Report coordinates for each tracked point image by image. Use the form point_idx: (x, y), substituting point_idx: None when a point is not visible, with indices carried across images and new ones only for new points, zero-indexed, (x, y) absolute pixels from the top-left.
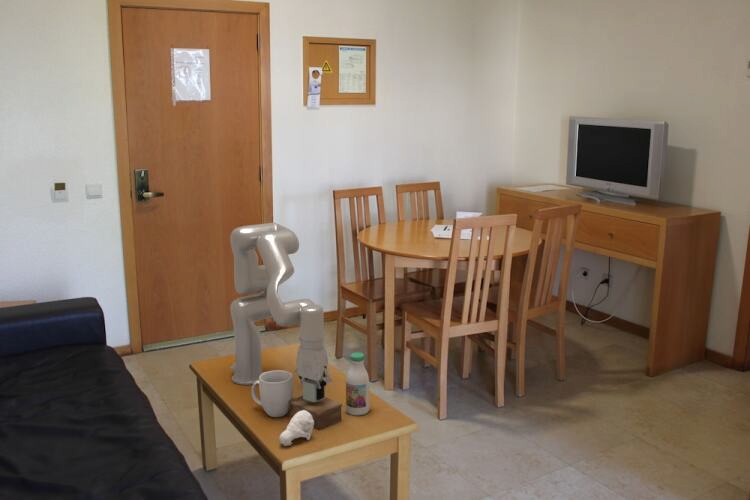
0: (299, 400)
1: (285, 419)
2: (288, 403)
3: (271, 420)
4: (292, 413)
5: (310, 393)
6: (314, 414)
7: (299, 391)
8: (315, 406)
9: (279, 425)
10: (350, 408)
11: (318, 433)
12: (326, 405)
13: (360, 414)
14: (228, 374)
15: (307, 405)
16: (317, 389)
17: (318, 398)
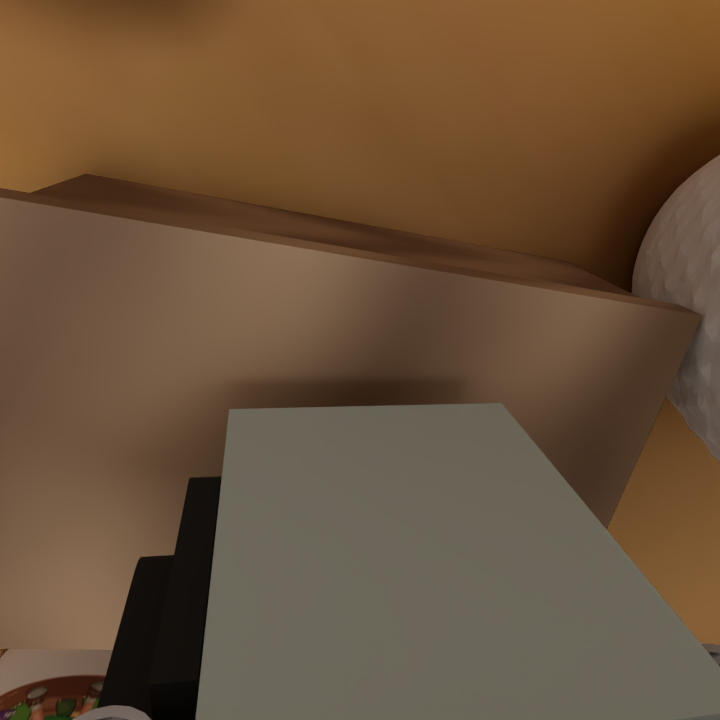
0: (571, 410)
1: (582, 190)
2: (680, 303)
3: (709, 80)
4: (554, 267)
5: (349, 498)
6: (98, 205)
7: (716, 635)
8: (243, 393)
9: (568, 17)
10: (75, 660)
11: (19, 103)
12: (131, 504)
13: (7, 651)
14: None
15: (372, 352)
16: (158, 664)
17: (185, 503)
